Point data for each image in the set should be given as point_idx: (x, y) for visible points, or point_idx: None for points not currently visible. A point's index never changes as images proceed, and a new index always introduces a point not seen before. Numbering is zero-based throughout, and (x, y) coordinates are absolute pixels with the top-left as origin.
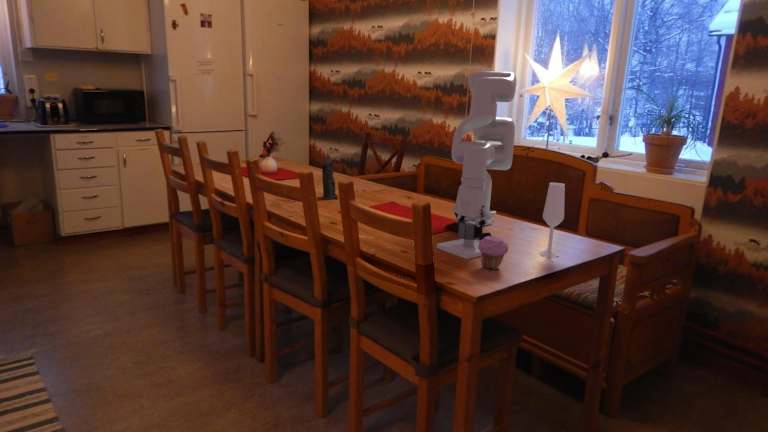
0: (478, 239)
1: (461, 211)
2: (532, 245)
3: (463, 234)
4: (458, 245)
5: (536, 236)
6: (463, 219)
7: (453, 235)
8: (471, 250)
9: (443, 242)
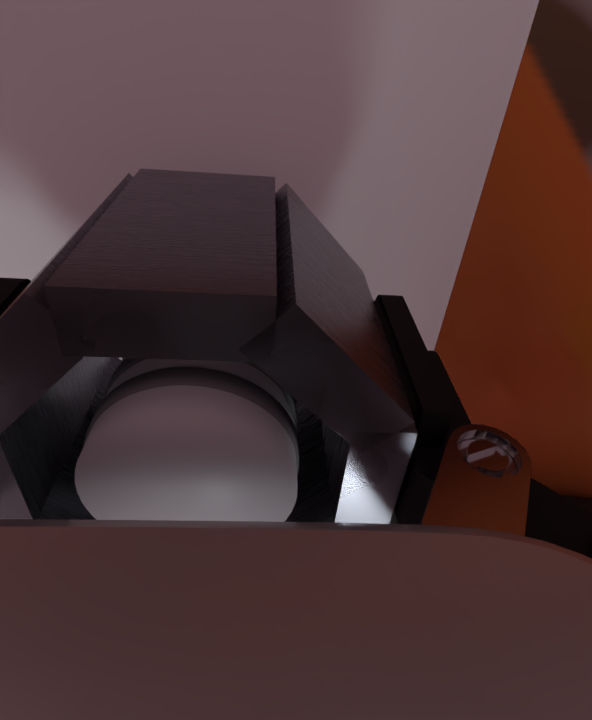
0: None
1: (328, 685)
2: None
3: (155, 196)
4: (291, 175)
5: None
6: (401, 522)
7: (573, 442)
8: (45, 146)
9: (505, 107)
